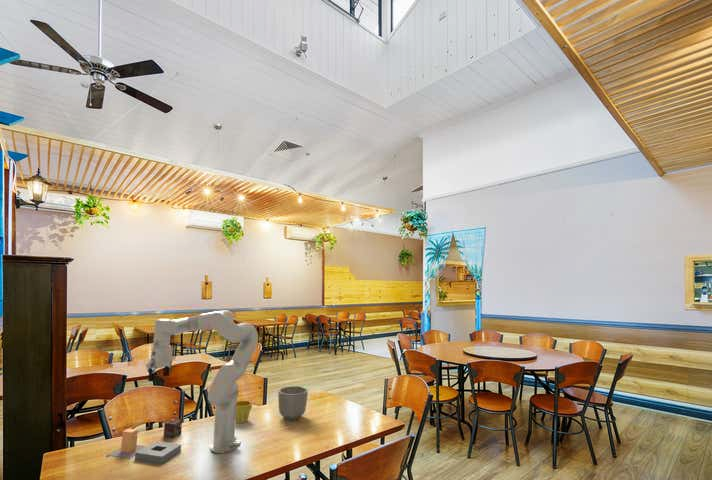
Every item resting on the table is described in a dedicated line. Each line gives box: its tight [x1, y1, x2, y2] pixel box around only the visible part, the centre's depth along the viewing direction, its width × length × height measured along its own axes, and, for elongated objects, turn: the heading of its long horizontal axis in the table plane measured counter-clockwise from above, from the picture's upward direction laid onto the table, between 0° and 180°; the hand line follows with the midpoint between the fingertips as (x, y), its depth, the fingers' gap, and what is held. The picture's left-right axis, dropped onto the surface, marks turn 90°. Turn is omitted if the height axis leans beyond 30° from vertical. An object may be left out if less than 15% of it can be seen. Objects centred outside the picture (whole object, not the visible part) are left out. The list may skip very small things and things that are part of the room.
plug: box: [120, 427, 139, 453], centre depth 170 cm, size 5×4×9 cm
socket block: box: [134, 440, 182, 465], centre depth 166 cm, size 14×12×4 cm
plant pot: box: [235, 400, 253, 424], centre depth 210 cm, size 10×10×10 cm
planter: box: [277, 385, 309, 422], centre depth 216 cm, size 17×17×16 cm
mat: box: [106, 444, 147, 459], centre depth 170 cm, size 12×12×1 cm
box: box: [163, 418, 183, 439], centre depth 188 cm, size 6×6×7 cm
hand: (158, 378), depth 184 cm, fingers open, 9 cm apart
